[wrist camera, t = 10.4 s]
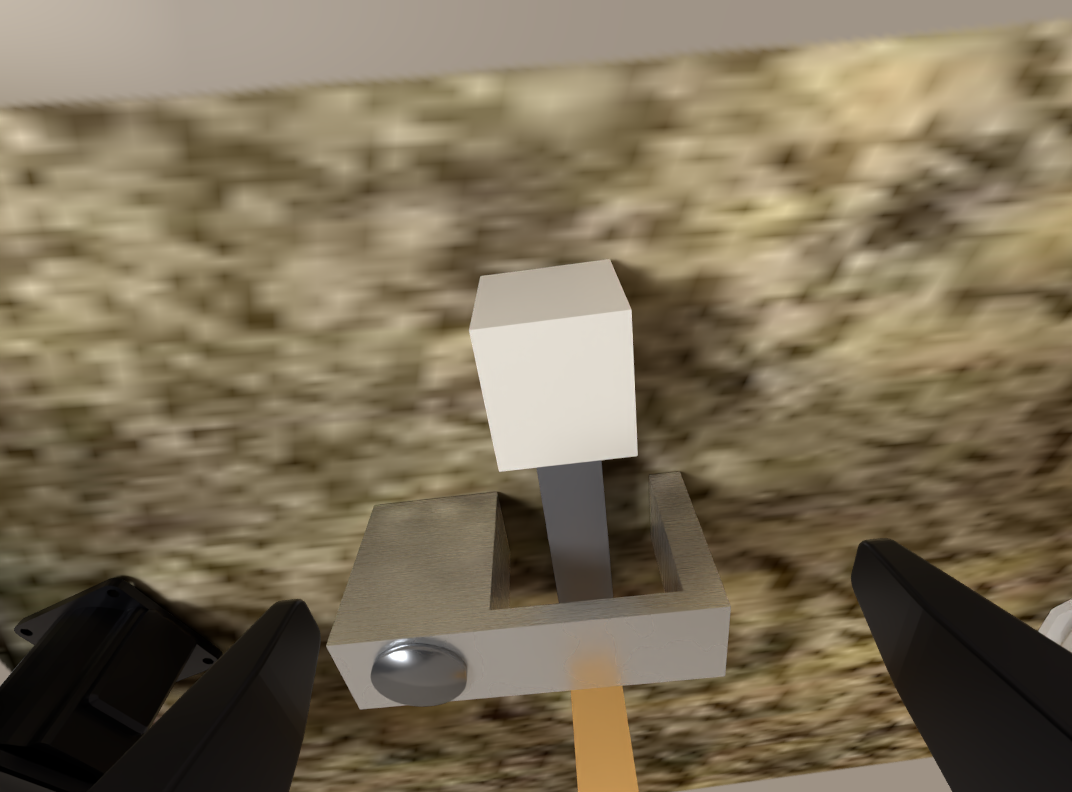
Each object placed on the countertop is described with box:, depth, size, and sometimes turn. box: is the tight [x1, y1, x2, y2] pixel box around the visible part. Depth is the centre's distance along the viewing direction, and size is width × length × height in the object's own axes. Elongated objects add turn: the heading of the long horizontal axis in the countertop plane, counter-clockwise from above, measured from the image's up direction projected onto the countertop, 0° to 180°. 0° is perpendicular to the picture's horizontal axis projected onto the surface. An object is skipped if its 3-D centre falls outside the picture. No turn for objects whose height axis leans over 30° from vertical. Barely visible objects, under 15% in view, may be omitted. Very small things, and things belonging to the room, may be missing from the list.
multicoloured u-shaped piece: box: [469, 259, 639, 792], centre depth 17 cm, size 18×4×9 cm, turn 7°
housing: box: [326, 472, 731, 709], centre depth 20 cm, size 4×12×6 cm, turn 98°
